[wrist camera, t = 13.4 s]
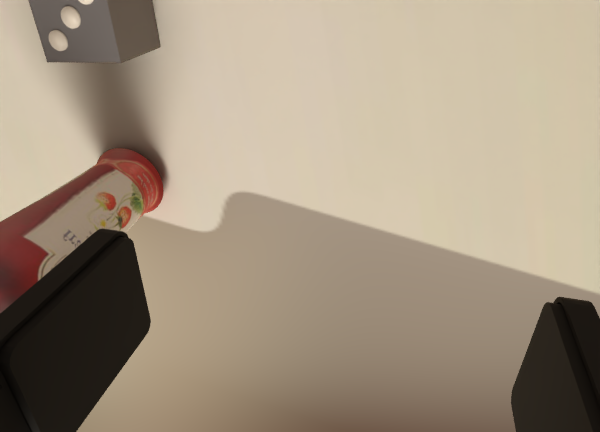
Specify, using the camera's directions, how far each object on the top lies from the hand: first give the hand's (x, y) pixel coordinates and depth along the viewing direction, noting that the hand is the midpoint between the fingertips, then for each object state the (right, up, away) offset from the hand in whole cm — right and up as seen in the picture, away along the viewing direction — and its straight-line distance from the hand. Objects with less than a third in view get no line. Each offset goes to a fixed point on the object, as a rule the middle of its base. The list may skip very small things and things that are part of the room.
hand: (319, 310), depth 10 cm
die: (-15, +19, +26) cm, 35 cm away
